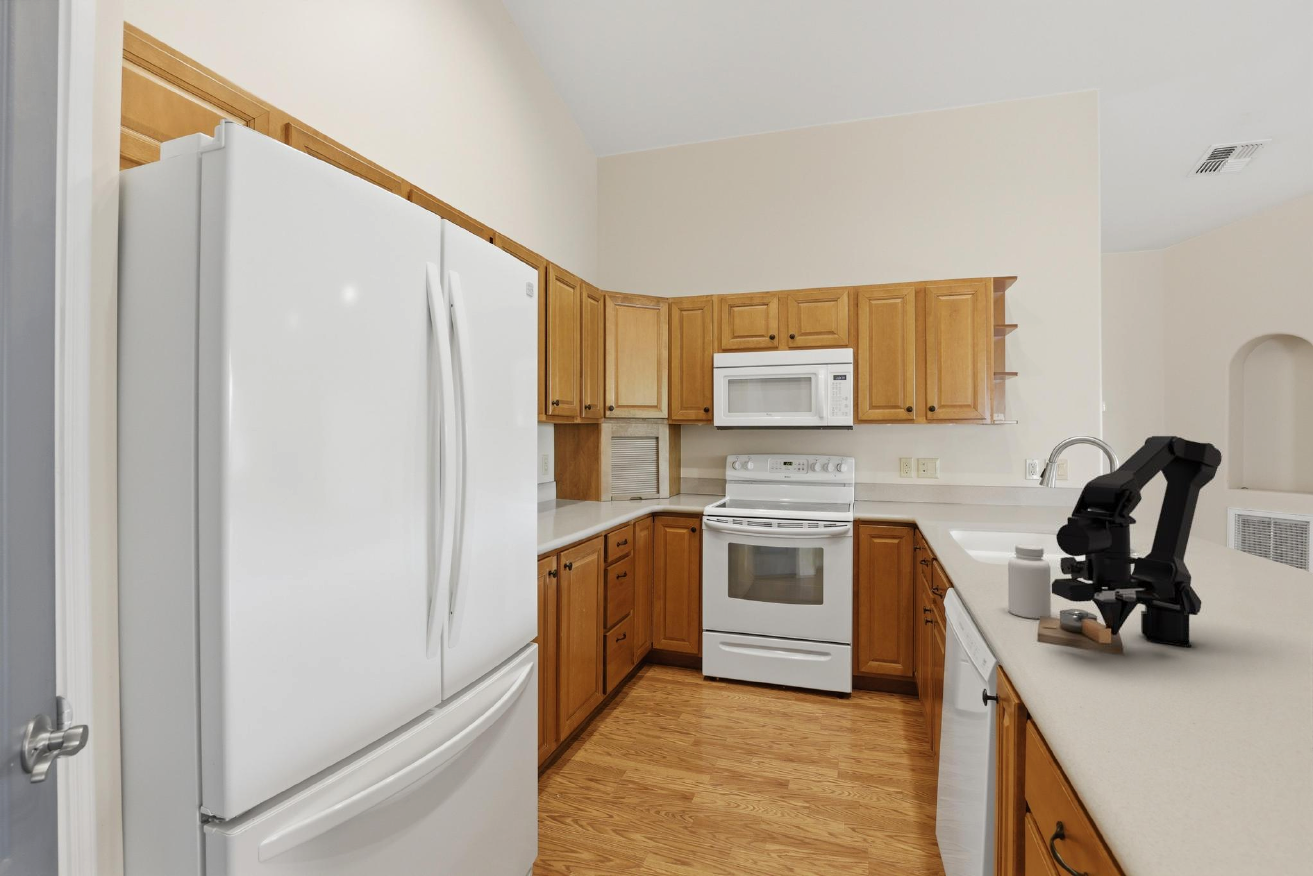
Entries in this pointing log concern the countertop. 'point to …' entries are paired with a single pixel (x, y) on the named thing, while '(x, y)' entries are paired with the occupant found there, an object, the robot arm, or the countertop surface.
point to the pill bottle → (1029, 583)
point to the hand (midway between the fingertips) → (1112, 634)
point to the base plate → (1074, 637)
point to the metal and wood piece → (1085, 624)
